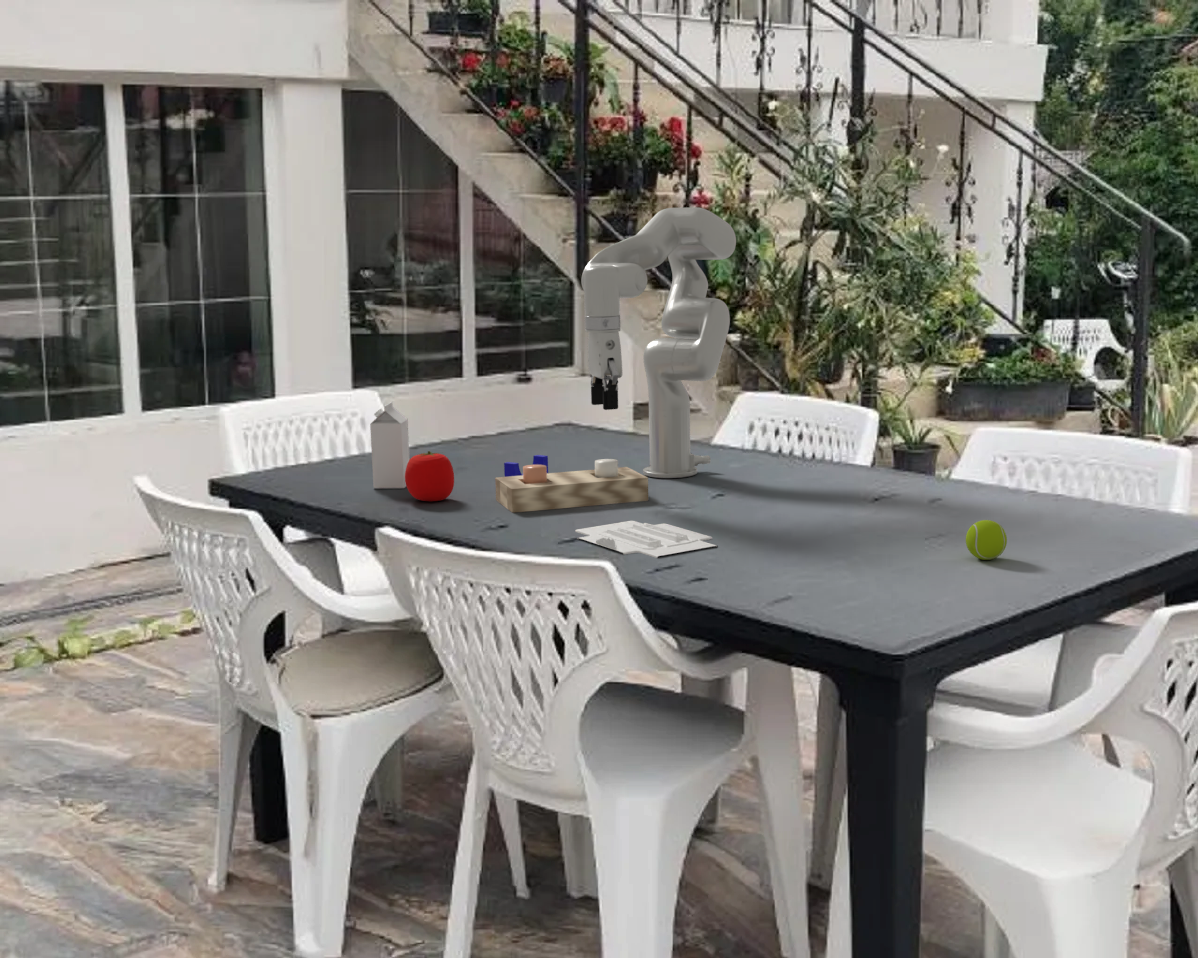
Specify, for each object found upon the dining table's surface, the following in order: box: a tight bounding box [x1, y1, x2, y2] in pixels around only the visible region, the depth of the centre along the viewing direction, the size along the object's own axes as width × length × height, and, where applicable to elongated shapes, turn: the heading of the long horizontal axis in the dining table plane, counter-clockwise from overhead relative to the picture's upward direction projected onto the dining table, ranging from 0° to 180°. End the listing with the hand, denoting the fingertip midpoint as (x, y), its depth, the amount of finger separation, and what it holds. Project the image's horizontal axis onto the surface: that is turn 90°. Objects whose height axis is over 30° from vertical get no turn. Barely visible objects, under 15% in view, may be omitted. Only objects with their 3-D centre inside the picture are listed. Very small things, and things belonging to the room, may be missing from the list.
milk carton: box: [369, 401, 411, 489], centre depth 347 cm, size 7×7×19 cm
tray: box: [575, 520, 718, 559], centre depth 289 cm, size 20×28×4 cm
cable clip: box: [503, 454, 549, 477], centre depth 346 cm, size 12×4×6 cm, turn 144°
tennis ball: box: [965, 519, 1008, 561], centre depth 267 cm, size 7×7×7 cm
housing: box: [494, 466, 649, 513], centre depth 327 cm, size 30×14×5 cm, turn 108°
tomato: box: [405, 450, 455, 502], centre depth 330 cm, size 10×11×11 cm
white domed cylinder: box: [594, 458, 619, 478], centre depth 328 cm, size 5×5×5 cm
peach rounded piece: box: [522, 464, 547, 484], centre depth 324 cm, size 5×5×5 cm
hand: (604, 406), depth 326 cm, fingers open, 7 cm apart
